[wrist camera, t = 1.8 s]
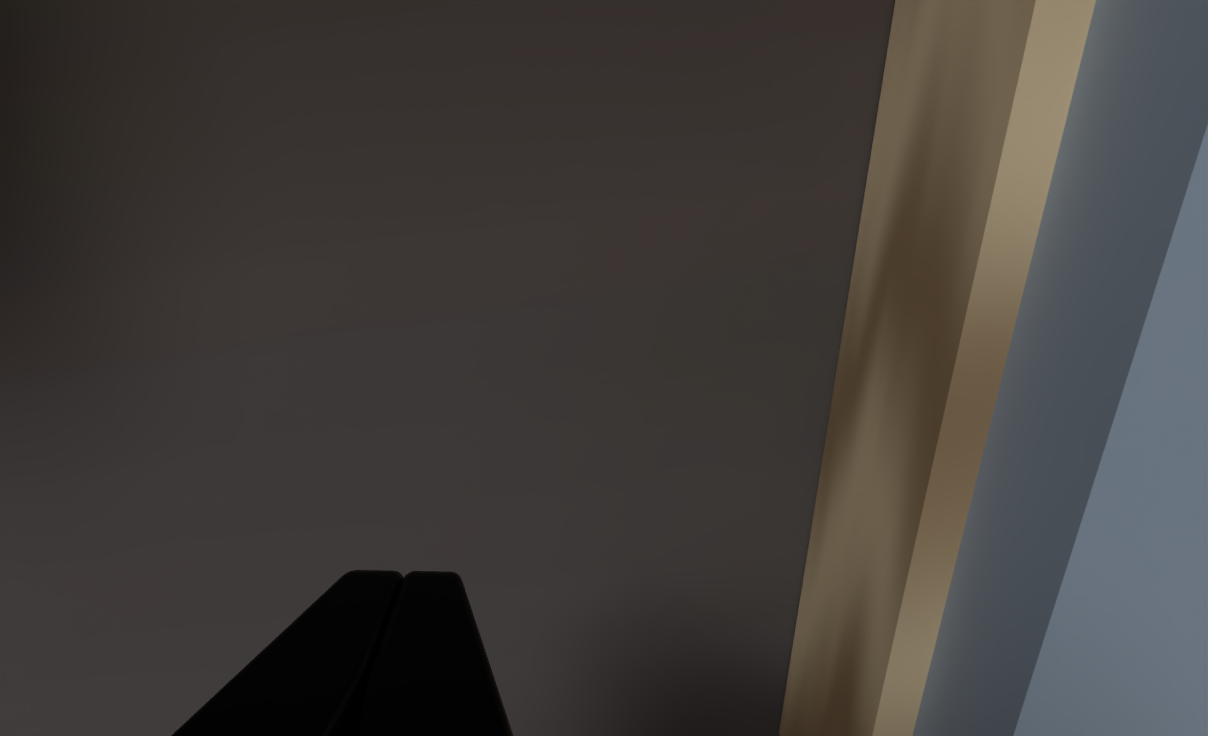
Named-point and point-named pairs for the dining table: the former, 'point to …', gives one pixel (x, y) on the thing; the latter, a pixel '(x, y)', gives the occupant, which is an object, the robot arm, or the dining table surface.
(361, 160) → the dining table surface
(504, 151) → the dining table surface
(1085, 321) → the slate blue board
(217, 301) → the dining table surface
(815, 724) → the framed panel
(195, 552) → the dining table surface
